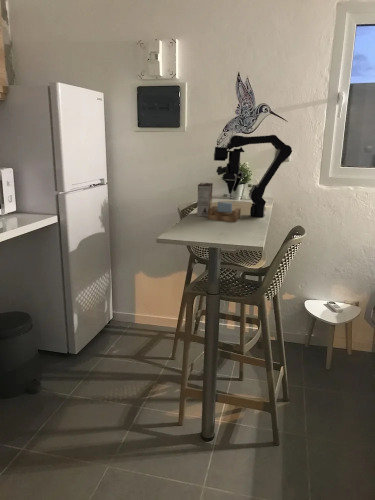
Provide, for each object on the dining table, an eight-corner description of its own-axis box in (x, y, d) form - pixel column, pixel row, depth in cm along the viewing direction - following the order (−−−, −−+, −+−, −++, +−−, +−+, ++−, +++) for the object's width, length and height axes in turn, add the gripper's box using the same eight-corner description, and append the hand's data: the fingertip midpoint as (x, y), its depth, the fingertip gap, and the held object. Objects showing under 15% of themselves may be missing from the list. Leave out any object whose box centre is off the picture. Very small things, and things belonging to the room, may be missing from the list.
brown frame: (240, 218, 201) (240, 208, 199) (235, 221, 192) (236, 211, 190) (213, 215, 205) (213, 205, 204) (207, 219, 196) (208, 209, 195)
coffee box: (199, 212, 212) (200, 182, 207) (211, 213, 211) (213, 183, 206) (196, 215, 203) (197, 184, 199) (209, 216, 202) (210, 185, 197)
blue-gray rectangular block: (231, 215, 198) (232, 203, 196) (230, 215, 196) (231, 203, 194) (218, 213, 200) (218, 201, 198) (217, 214, 198) (217, 202, 197)
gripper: (223, 159, 211) (221, 189, 215) (213, 161, 194) (212, 193, 198) (244, 160, 207) (242, 190, 211) (235, 162, 190) (233, 195, 194)
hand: (232, 192), depth 204 cm, fingers open, 9 cm apart
